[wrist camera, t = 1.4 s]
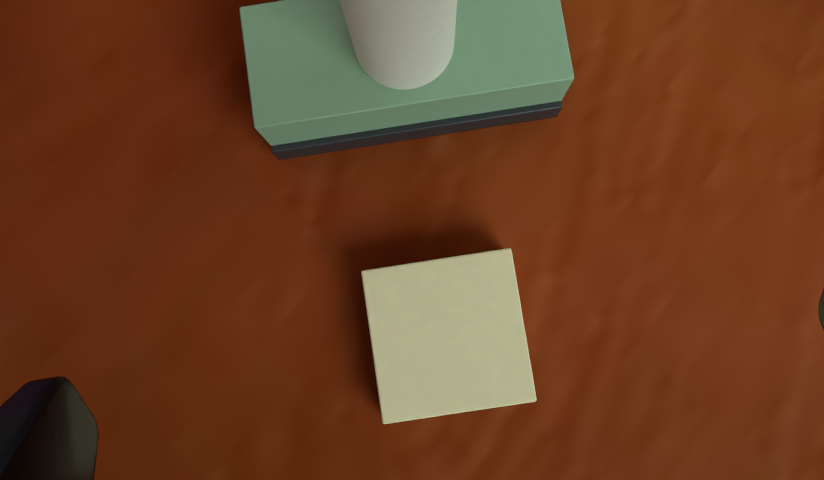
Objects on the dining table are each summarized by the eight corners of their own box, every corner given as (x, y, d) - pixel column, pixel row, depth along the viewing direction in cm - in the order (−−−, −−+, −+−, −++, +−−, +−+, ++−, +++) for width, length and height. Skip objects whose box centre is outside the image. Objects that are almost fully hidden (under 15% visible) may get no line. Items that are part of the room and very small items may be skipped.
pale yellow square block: (531, 397, 21) (537, 401, 20) (385, 418, 21) (382, 424, 20) (507, 251, 22) (511, 247, 21) (364, 273, 22) (360, 270, 21)
